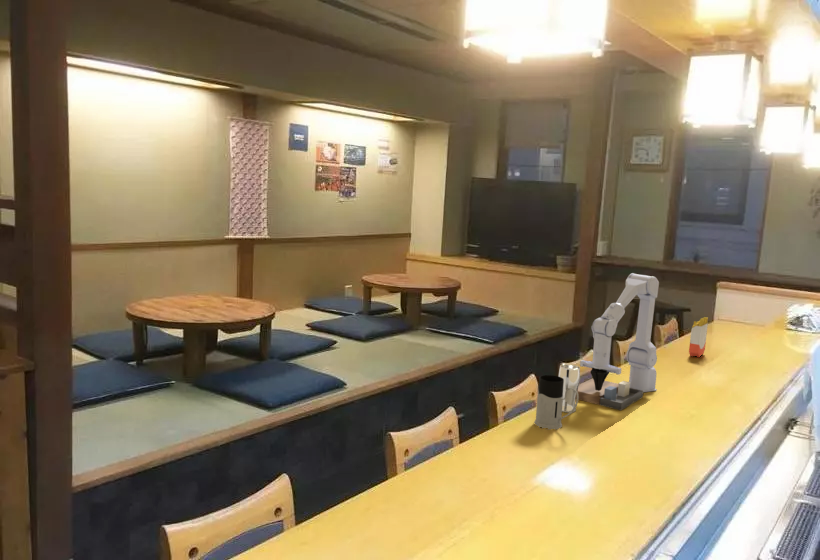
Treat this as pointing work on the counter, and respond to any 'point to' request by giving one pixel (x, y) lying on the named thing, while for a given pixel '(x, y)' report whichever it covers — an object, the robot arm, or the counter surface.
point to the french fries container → (698, 337)
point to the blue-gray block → (610, 393)
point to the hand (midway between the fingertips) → (598, 389)
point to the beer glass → (569, 385)
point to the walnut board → (593, 391)
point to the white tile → (623, 388)
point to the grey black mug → (551, 402)
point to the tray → (623, 399)
